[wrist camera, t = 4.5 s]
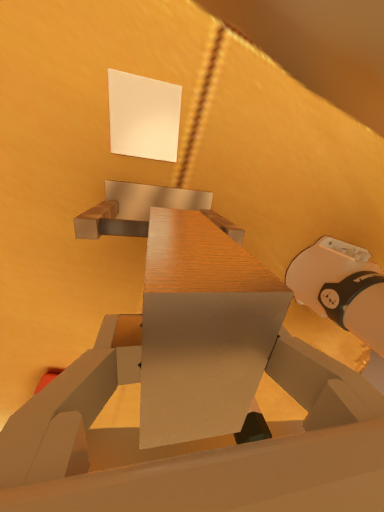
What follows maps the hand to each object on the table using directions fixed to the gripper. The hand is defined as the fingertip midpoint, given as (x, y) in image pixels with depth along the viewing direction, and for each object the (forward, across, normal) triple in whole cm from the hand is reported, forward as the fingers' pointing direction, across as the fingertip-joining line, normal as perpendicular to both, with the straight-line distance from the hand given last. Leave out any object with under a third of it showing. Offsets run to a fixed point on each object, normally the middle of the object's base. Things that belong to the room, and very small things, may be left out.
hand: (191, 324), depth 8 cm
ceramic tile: (+29, +3, -13) cm, 32 cm away
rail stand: (+29, 0, 0) cm, 29 cm away
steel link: (+10, 0, 0) cm, 10 cm away
